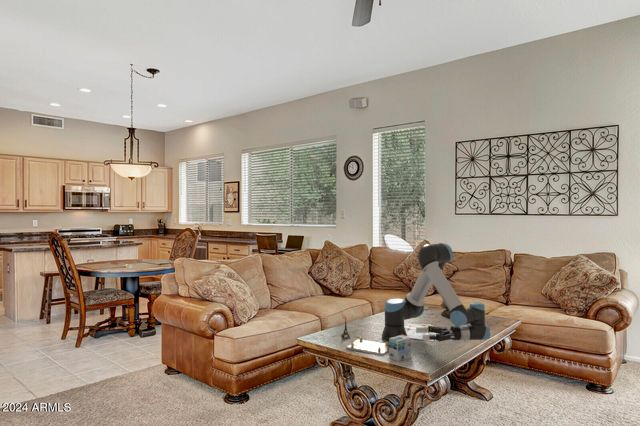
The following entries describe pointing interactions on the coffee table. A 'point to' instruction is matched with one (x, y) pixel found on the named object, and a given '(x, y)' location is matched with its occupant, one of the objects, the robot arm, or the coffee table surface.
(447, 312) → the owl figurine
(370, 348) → the plate
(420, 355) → the coffee table surface
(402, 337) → the light bulb box
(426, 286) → the robot arm
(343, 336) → the eiffel tower figurine
